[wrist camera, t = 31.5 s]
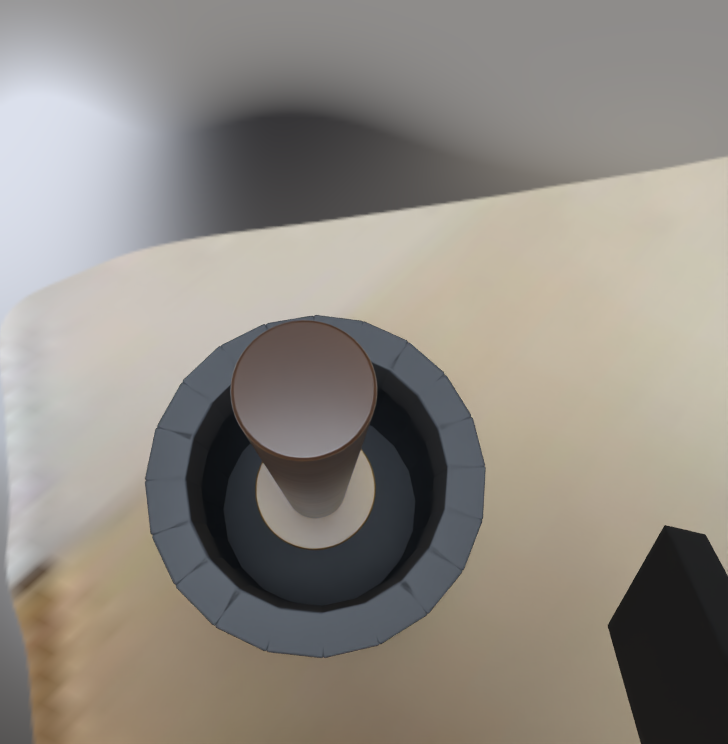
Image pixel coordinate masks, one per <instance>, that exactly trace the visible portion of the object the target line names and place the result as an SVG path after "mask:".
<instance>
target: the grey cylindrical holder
mask: <svg viewBox="0 0 728 744" xmlns="http://www.w3.org/2000/svg"><path fill="white" fill-rule="evenodd" d="M299 320H312V321H318V322H323V323H326V324H330V325H332V326H335V327H337V328H339V329H341V330H342V331H344V332H346V333H347V334H349V335H350V336H351V337H353V338H354V339H355V340H356V341H357V342H358V343H359V344H360V345H361V347H362V348H363V349H364V351H365V352H366V353H367V355H368V357H369V359H370V360H371V363H372V365H373V368H374V371H375V375H376V380H377V400H376V406H375V409H374V413H373V416H372V419H371V422H370V424H369V427H368V430H367V433H366V436H365V439H364V442H363V445H362V448H361V449H362V450H363V452H364V453H365V454H366V456H367V458H368V459H369V461H370V463H371V466H372V468H373V472H374V476H375V482H376V494H375V501H374V505H373V508H372V511H371V513H370V515H369V517H368V519H367V521H366V522H365V524H364V525H363V526H362V528H361V529H360V530H359V531H358V532H357V533H356V534H355V535H354V536H353V537H351V538H350V539H349V540H347V541H346V542H344V543H342V544H340V545H338V546H335V547H333V548H329V549H324V550H306V549H301V548H297V547H294V546H292V545H290V544H287V543H286V542H284V541H282V540H281V539H279V538H278V537H277V536H276V535H275V534H273V533H272V531H271V530H270V529H269V528H268V527H267V525H266V524H265V523H264V521H263V519H262V517H261V515H260V513H259V510H258V507H257V503H256V497H255V483H256V477H257V473H258V470H259V467H260V465H261V463H262V460H261V459H260V457H259V455H258V454H257V452H256V451H255V449H254V448H253V446H252V445H251V443H250V441H249V440H248V438H247V437H246V435H245V434H244V432H243V431H242V429H241V428H240V426H239V424H238V422H237V420H236V418H235V415H234V412H233V409H232V404H231V394H230V389H231V380H232V375H233V371H234V369H235V366H236V363H237V361H238V359H239V358H240V356H241V354H242V353H243V351H244V350H245V349H246V347H247V346H248V345H249V344H250V343H251V342H252V341H253V340H254V339H255V338H256V337H258V336H259V335H260V334H262V333H263V332H265V331H266V330H268V329H270V328H272V327H274V326H277V325H280V324H283V323H286V322H291V321H299ZM157 427H158V428H156V429H155V434H154V439H153V444H152V448H151V453H150V458H149V463H148V467H147V472H146V477H145V480H146V481H145V486H146V495H147V504H148V513H149V522H150V531H151V534H152V535H153V536H152V538H153V540H154V542H155V545H156V547H157V549H158V551H159V553H160V555H161V557H162V560H163V562H164V564H165V566H166V568H167V570H168V572H169V575H170V577H171V579H172V581H173V583H174V584H175V585H176V588H177V589H178V590H179V591H180V592H181V593H182V594H183V595H184V596H185V597H186V598H187V599H188V600H189V601H190V602H191V603H192V604H193V605H194V606H195V607H196V608H197V609H198V610H199V611H200V612H201V613H202V614H203V616H204V617H205V618H206V619H207V620H208V621H209V622H210V623H211V624H212V625H214V626H215V627H216V628H218V629H220V630H222V631H224V632H226V633H228V634H230V635H232V636H234V637H236V638H239V639H241V640H243V641H245V642H247V643H249V644H251V645H253V646H255V647H257V648H259V649H261V650H263V651H266V650H267V652H272V653H281V654H290V655H299V656H308V657H317V658H323V657H324V658H327V657H331V656H335V655H340V654H344V653H348V652H352V651H357V650H361V649H365V648H369V647H374V646H378V645H379V644H382V643H384V642H385V641H387V640H388V639H390V638H392V637H393V636H395V635H396V634H398V633H400V632H401V631H403V630H404V629H406V628H407V627H409V626H411V625H412V624H414V623H415V622H417V621H419V620H420V619H422V618H423V617H425V616H426V615H427V614H428V613H430V611H431V610H432V609H433V608H434V606H435V605H436V604H437V603H438V601H439V600H440V599H441V598H442V597H443V595H444V594H445V593H446V592H447V590H448V589H449V588H450V587H451V585H452V584H453V583H454V582H455V581H456V579H457V578H458V577H459V576H460V574H461V573H462V570H464V568H465V565H466V563H467V560H468V557H469V555H470V552H471V549H472V547H473V544H474V542H475V539H476V536H477V534H478V531H479V528H480V526H481V523H482V519H483V507H484V488H485V469H486V468H485V467H484V466H485V463H484V459H483V456H482V452H481V448H480V444H479V440H478V436H477V432H476V429H475V425H474V421H473V418H472V417H471V414H470V412H469V411H468V409H467V408H466V406H465V404H464V403H463V401H462V400H461V398H460V396H459V395H458V393H457V392H456V390H455V388H454V387H453V385H452V383H451V382H450V380H449V379H448V377H447V376H446V375H444V372H443V371H442V370H441V369H439V368H438V367H437V366H436V365H435V364H434V363H432V362H431V361H430V360H429V359H428V358H427V357H426V356H424V355H423V354H422V353H421V352H420V351H419V350H418V349H416V348H415V347H414V346H413V345H412V344H411V343H409V342H408V341H407V340H405V339H402V338H400V337H398V336H396V335H393V334H391V333H389V332H387V331H384V330H382V329H380V328H378V327H375V326H373V325H371V324H369V323H366V322H363V321H359V320H351V319H343V318H335V317H327V316H319V315H315V316H307V317H302V318H296V319H290V320H284V321H278V322H272V323H268V324H266V325H265V324H263V325H261V326H259V327H257V328H255V329H253V330H251V331H249V332H247V333H245V334H243V335H241V336H239V337H237V338H235V339H233V340H231V341H229V342H227V343H225V344H223V345H221V347H220V346H219V347H218V348H217V349H216V350H215V351H213V352H212V353H211V354H210V355H209V356H208V357H207V358H206V359H205V360H204V361H203V362H202V363H201V364H200V365H199V366H198V367H197V368H195V369H194V370H193V371H192V372H191V373H190V374H189V375H188V376H187V377H186V378H185V379H184V380H183V383H181V384H180V386H179V388H178V390H177V392H176V393H175V395H174V397H173V399H172V400H171V402H170V404H169V406H168V407H167V409H166V411H165V413H164V415H163V416H162V418H161V420H160V422H159V423H158V426H157Z"/></svg>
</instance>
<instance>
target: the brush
mask: <svg viewBox="0 0 728 744" xmlns="http://www.w3.org/2000/svg"><path fill="white" fill-rule="evenodd" d="M230 394H231V404H232V409H233V412H234V415H235V418H236V420H237V422H238V424H239V426H240V428H241V429H242V431H243V432H244V434H245V435H246V437H247V438H248V440H249V441H250V443H251V445H252V446H253V448H254V449H255V451H256V452H257V454H258V455H259V457H260V459H261V460H262V463H261V465H260V467H259V470H258V473H257V477H256V483H255V497H256V503H257V507H258V510H259V513H260V515H261V517H262V519H263V521H264V523H265V524H266V525H267V527H268V528H269V529H270V530H271V531H272V533H273V534H275V535H276V536H277V537H278V538H279V539H281V540H282V541H284V542H286V543H287V544H290V545H292V546H294V547H297V548H301V549H306V550H324V549H329V548H333V547H335V546H338V545H340V544H342V543H344V542H346V541H347V540H349V539H350V538H351V537H353V536H354V535H355V534H356V533H357V532H358V531H359V530H360V529H361V528H362V526H363V525H364V524H365V522H366V521H367V519H368V517H369V515H370V513H371V511H372V508H373V505H374V501H375V494H376V482H375V476H374V472H373V468H372V466H371V463H370V461H369V459H368V458H367V456H366V454H365V453H364V452H363V450H362V449H361V448H362V445H363V442H364V439H365V436H366V433H367V430H368V427H369V424H370V422H371V419H372V416H373V413H374V409H375V406H376V400H377V380H376V375H375V371H374V368H373V365H372V363H371V360H370V359H369V357H368V355H367V353H366V352H365V351H364V349H363V348H362V347H361V345H360V344H359V343H358V342H357V341H356V340H355V339H354V338H353V337H351V336H350V335H349V334H347V333H346V332H344V331H342V330H341V329H339V328H337V327H335V326H332V325H330V324H326V323H323V322H318V321H312V320H299V321H291V322H286V323H283V324H280V325H277V326H274V327H272V328H270V329H268V330H266V331H265V332H263V333H262V334H260V335H259V336H258V337H256V338H255V339H254V340H253V341H252V342H251V343H250V344H249V345H248V346H247V347H246V349H245V350H244V351H243V353H242V354H241V356H240V358H239V359H238V361H237V363H236V366H235V369H234V371H233V375H232V380H231V389H230Z"/></svg>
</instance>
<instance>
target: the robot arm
mask: <svg viewBox="0 0 728 744" xmlns="http://www.w3.org/2000/svg"><path fill="white" fill-rule="evenodd" d="M608 629H609V632H610V636H611V639H612V643H613V646H614V650H615V653H616V657H617V661H618V664H619V668H620V671H621V675H622V678H623V682H624V685H625V689H626V692H627V696H628V699H629V703H630V706H631V710H632V713H633V717H634V720H635V724H636V728H637V731H638V735H639V738H640V742H641V744H728V575H727V574H726V572H725V570H724V568H723V566H722V564H721V562H720V561H719V559H718V557H717V555H716V553H715V551H714V549H713V548H712V546H711V544H710V542H709V540H708V538H707V536H706V535H705V534H700V533H696V532H692V531H688V530H683V529H679V528H675V527H670V526H666V525H665V526H664V527H663V529H662V531H661V533H660V534H659V536H658V538H657V540H656V541H655V543H654V545H653V547H652V548H651V550H650V552H649V554H648V555H647V557H646V559H645V561H644V562H643V564H642V566H641V568H640V569H639V571H638V573H637V575H636V576H635V578H634V580H633V582H632V583H631V585H630V587H629V589H628V591H627V592H626V594H625V596H624V598H623V599H622V601H621V603H620V605H619V606H618V608H617V610H616V612H615V613H614V615H613V617H612V619H611V620H610V622H609V624H608Z"/></svg>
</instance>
